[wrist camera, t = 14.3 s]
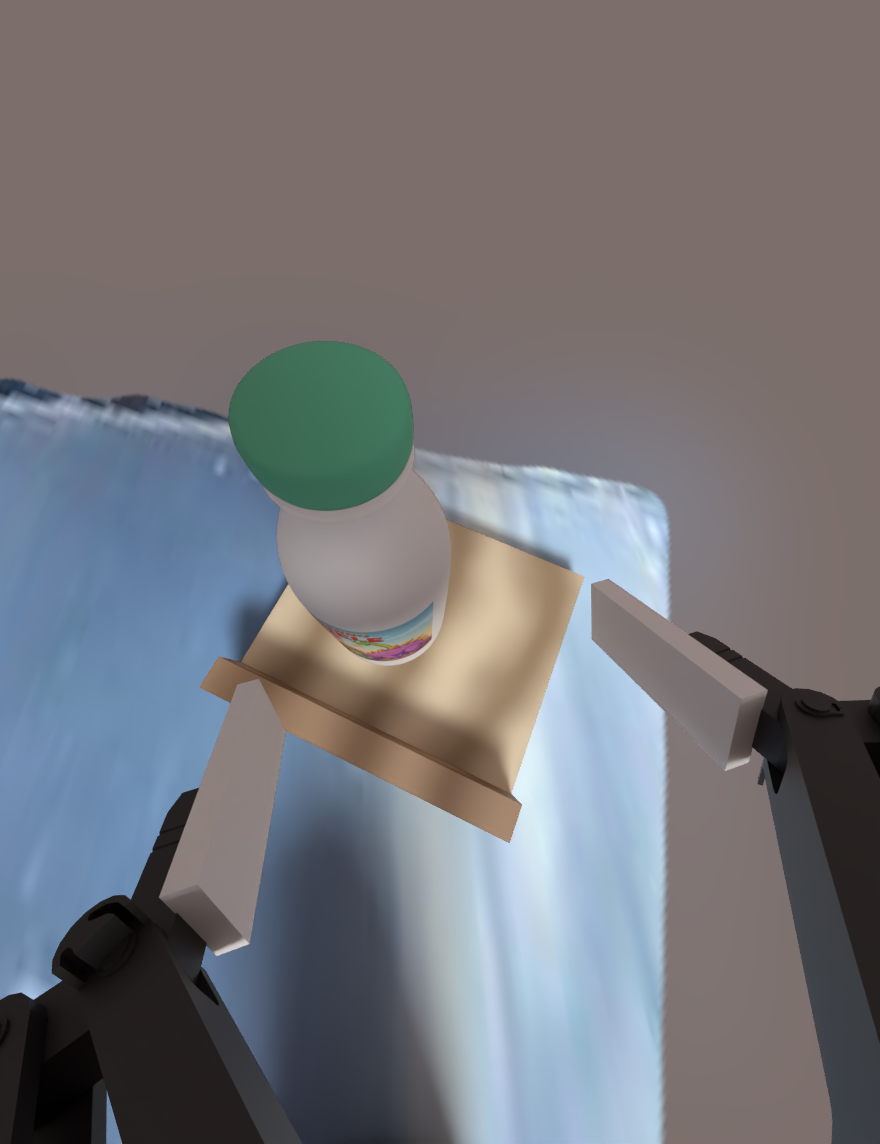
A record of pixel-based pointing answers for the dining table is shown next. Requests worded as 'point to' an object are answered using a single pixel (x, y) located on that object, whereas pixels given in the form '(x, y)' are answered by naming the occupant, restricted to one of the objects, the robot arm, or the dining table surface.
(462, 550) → the light wooden flat tray
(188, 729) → the dining table surface
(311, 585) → the milk bottle
